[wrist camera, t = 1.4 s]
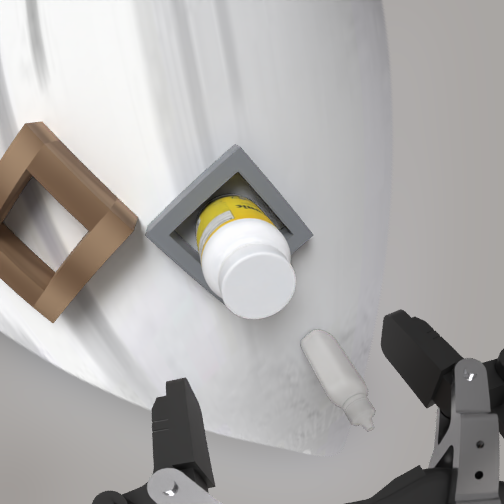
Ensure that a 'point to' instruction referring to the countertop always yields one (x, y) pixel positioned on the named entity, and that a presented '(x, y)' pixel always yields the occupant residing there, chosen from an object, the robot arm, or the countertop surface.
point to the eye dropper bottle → (339, 377)
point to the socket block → (75, 202)
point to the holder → (200, 191)
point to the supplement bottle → (244, 257)
